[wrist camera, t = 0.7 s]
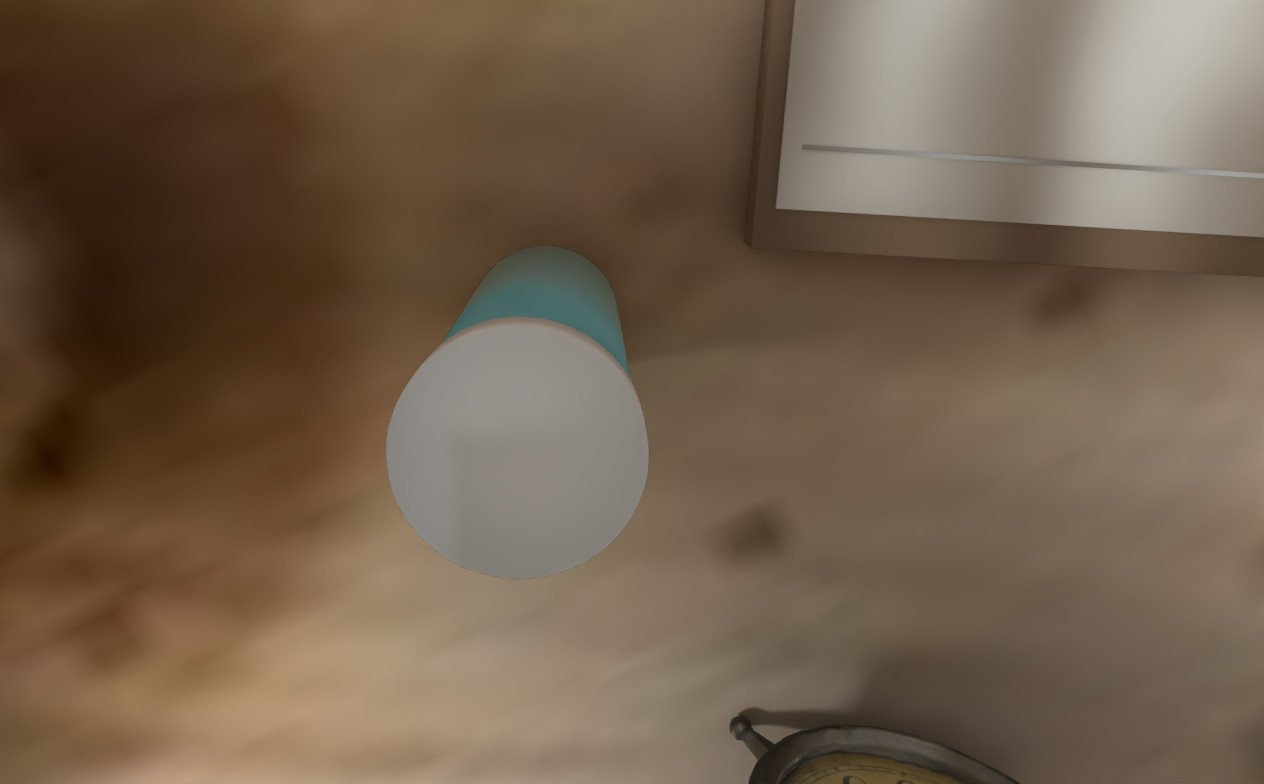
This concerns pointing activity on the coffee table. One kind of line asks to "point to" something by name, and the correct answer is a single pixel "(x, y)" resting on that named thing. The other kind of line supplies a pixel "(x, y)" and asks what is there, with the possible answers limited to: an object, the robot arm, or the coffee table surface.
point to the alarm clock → (859, 758)
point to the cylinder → (523, 424)
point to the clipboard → (1014, 132)
